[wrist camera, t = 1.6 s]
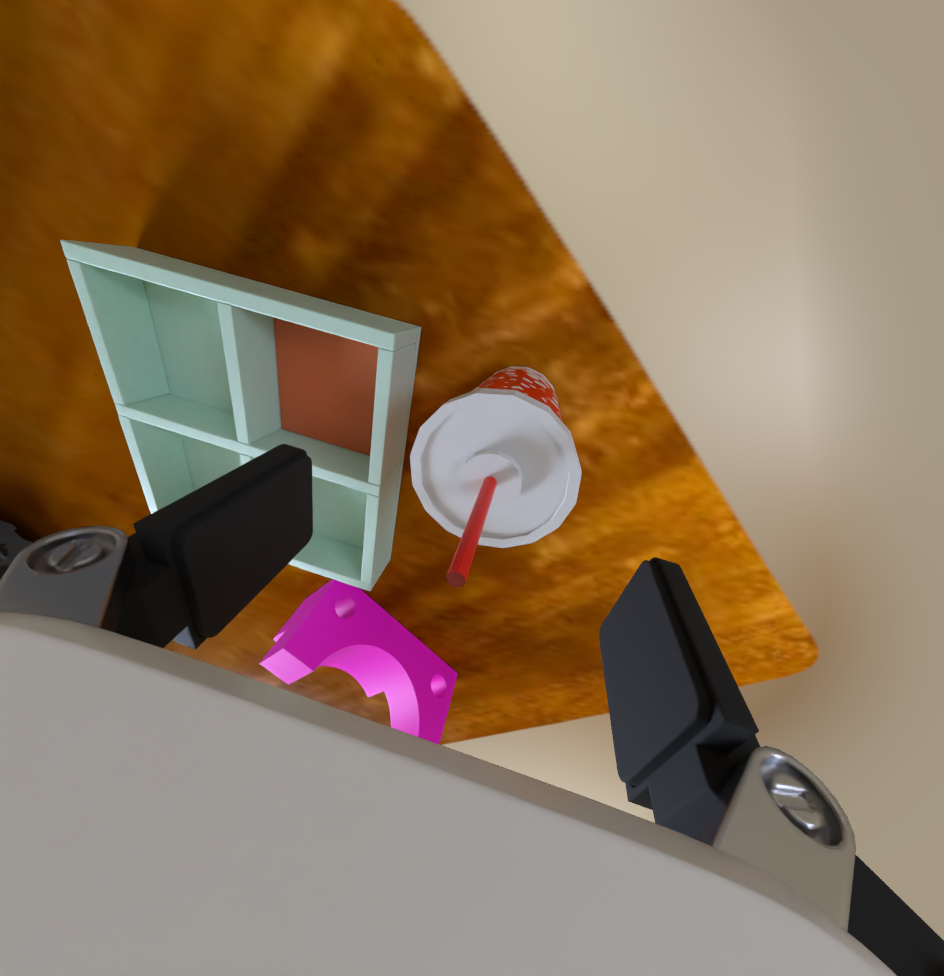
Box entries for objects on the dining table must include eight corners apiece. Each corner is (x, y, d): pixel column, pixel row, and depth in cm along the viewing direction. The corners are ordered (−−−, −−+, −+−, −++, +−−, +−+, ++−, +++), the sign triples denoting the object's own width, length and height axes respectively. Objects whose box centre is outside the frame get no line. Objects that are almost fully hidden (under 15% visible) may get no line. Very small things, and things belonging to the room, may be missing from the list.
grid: (134, 246, 20) (58, 238, 17) (421, 326, 19) (395, 333, 16) (194, 495, 29) (152, 518, 26) (390, 559, 28) (370, 592, 25)
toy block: (305, 598, 33) (245, 672, 27) (341, 572, 30) (282, 648, 24) (416, 689, 37) (386, 773, 30) (457, 673, 34) (434, 762, 27)
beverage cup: (539, 326, 18) (501, 398, 6) (591, 427, 20) (642, 638, 8) (444, 388, 20) (284, 525, 8) (498, 471, 22) (430, 681, 10)
